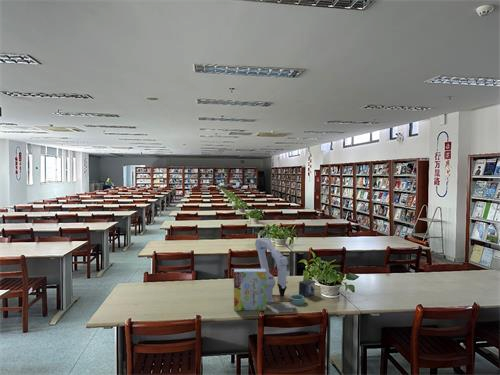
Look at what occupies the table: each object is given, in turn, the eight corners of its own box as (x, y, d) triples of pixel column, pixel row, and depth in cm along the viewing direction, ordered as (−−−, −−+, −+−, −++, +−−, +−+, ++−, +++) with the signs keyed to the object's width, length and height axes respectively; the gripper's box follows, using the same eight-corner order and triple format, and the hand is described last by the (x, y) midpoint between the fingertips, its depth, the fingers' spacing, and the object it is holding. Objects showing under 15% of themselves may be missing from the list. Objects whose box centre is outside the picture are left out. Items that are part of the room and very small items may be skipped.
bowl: (290, 305, 237) (290, 299, 237) (288, 300, 247) (288, 294, 247) (305, 305, 237) (305, 299, 237) (302, 300, 247) (302, 294, 247)
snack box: (265, 305, 236) (266, 268, 235) (266, 310, 228) (267, 271, 227) (233, 305, 235) (234, 268, 235) (233, 310, 227) (233, 271, 226)
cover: (273, 302, 225) (273, 295, 225) (271, 296, 237) (271, 289, 237) (292, 302, 226) (292, 295, 225) (289, 295, 238) (289, 289, 237)
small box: (304, 298, 252) (304, 283, 251) (298, 295, 257) (298, 281, 256) (314, 295, 258) (315, 281, 257) (308, 292, 263) (308, 279, 263)
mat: (272, 312, 224) (272, 312, 224) (270, 304, 238) (270, 304, 238) (293, 312, 225) (293, 312, 225) (290, 304, 239) (290, 303, 239)
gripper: (289, 278, 224) (289, 299, 224) (286, 272, 238) (286, 291, 239) (278, 278, 223) (278, 299, 224) (276, 272, 238) (275, 291, 238)
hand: (281, 295), depth 231 cm, fingers closed on cover, 2 cm apart
